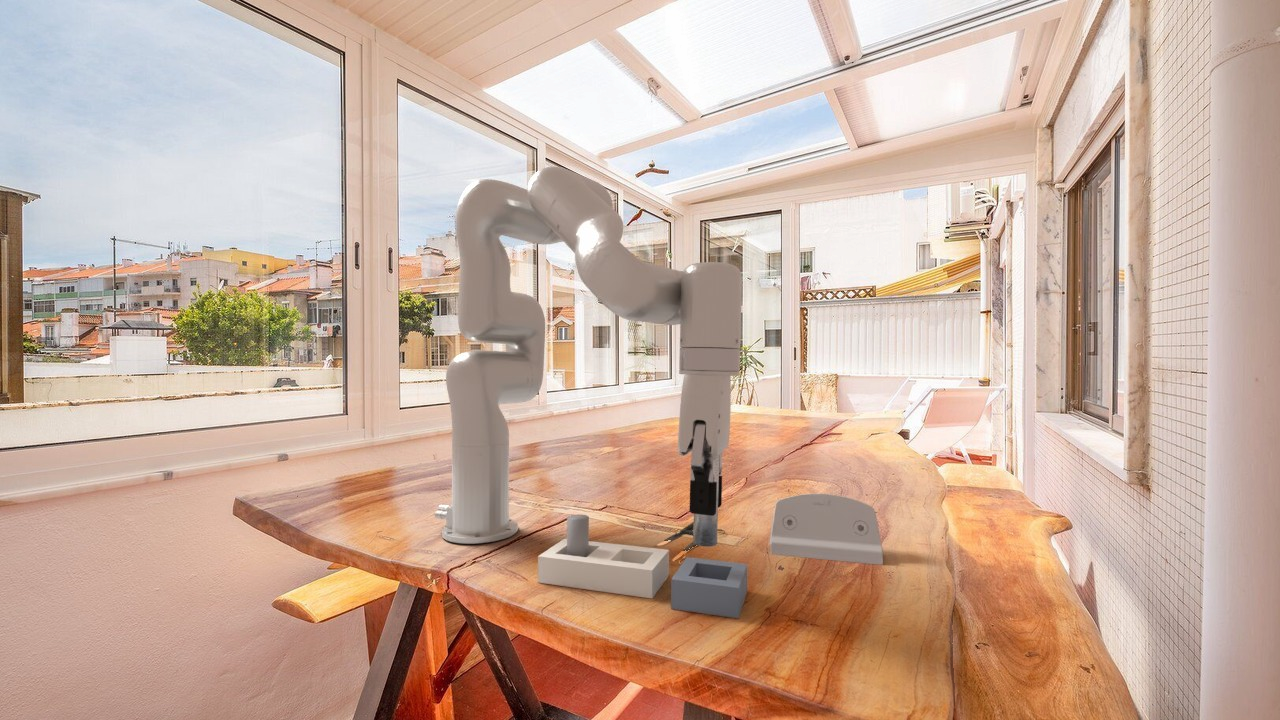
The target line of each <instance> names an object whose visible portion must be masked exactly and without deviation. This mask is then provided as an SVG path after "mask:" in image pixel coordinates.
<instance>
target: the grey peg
mask: <svg viewBox="0 0 1280 720" xmlns="http://www.w3.org/2000/svg"><path fill="white" fill-rule="evenodd" d="M710 449H711V446H710ZM704 455H705V456H711V454H709V452H707V451H705V452H704ZM705 463H708V465H709V462H708V461H705ZM719 476H720V475H719V455H718V456H717V457H715V478H714V482H717V499H716V514H715V515H714V516H710V515H701V514H693V521H694V522H693V521H692V523H693V535H692V536H693V537H692V542H693V543H694V544H696V545H698V546H699V547H708V548H709V547H715V546H717V544H718V531H717V529H718V524H719V523H718V518H719V508H718V486H719Z"/></svg>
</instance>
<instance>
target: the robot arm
mask: <svg viewBox="0 0 1280 720" xmlns="http://www.w3.org/2000/svg"><path fill="white" fill-rule="evenodd" d="M457 203H458V204H457V207H456V212H455V232H456V233H455V234H456V239H457V240H456V241H457V246H458V247H457V248H458V253H459V275H458V276H459V277H458V278H459V279H458V305H457V322H458V324H457V325H458V329H459V331H460V334H461V335H462V336H463V337H464V338H465V339H466V340H468V341H472V342H476V343H483V344H501V345H505V351H500V350H469V351H465V352H462V353H459V354H458V355H455V357H454V358H452V359H451V361H450V362H449V364H448V366H447V368H446V372H445V384H446V385H445V386H446V391H447V394H448V400H449V405H450V406H449V407H450V415H451V451H452V452H451V505H447V504H440V505H439V506H438V508H437V510H436V511H435V513H434V518H435V519H438V520H439V519H440V520H446V522H445V523H446V524H445V526H444V527H443V528H442V530H441V537H442V538H443V539H445V541H447V542H451V543H454V544H465V545H466V544H467V545H470V544H473V545H474V544H485V543H493V542H497V541H498V542H499V541H501V540H502V541H503V540H505V539H507V538H510V537H512V536H514V535H515V534H516V533H517V532H518V530H519V523H518V522H517V521H516V520H514V519H512V518H510V517H509V516H510V513H509V512H510V511H509V509H510V508H509V507H510V501H509V500H510V495H509V493H510V489H509V488H510V432H509V430H510V429H509V425H508V422H507V420H506V418H505V415H504V414H503V412H502V409H501V408H500V405H507V404H511V405H512V404H518V403H520V404H521V403H522V404H523V403H527V402H529V401H531V400H534V399H535V398H536V397H537V395H538V394H539V392H540V391H541V388H542V384H543V379H544V371H545V369H544V366H545V349H546V348H545V343H546V342H545V341H546V318H545V313H544V310H543V307H542V306H541V304H540V303H539V301H537V299H536V298H535V297H534V296H531V295H529V294H527V293H521V292H515V291H512V290H511V289H512V288H511V272H512V271H511V270H512V269H511V262H510V257H509V256H508V253H507V250H506V248H505V246H504V245H503V243H502V242H501V240H500V239H501V238H500V237H501V236H504V237H508V238H511V239H515V240H516V239H517V240H519V241H523V242H524V241H525V242H528V243H531V244H537V245H552V244H558V243H562V242H564V243H565V245H566V246H567V247H568V248H569V249H570V250H571V252H573V253H574V261H575V265H576V270H577V274H578V277H579V278H580V280H581V282H582V283H583V284H584V285H585V287H586V288H587V289H588V290H589V291H590V292H591V293H592V295H594V296H595V297H596V298H597V300H599V301H600V303H602V305H603V306H605V307H606V308H607V309H608V310H609V311H610V312H612V313H613V314H615V315H616V316H618V317H620V318H621V319H623V320H624V319H625V320H627V321H632V322H640V323H641V322H642V323H650V324H655V325H665V326H679V360H678V361H679V363H678V366H679V367H678V374H680V375H683V379H682V387H681V395H680V396H681V397H680V407H679V421H678V433H677V434H678V436H677V452H678V454H679V455H680V456H686V455H687V454H689V453H691V459H690V477H689V478H690V480H689V512H690V513H691V514H693V515H694V514H701V515H710V516H714V515H715V514H716V499H717V482H714V478H715V457H717V456H718V455H719V486H718V509H719V508H721V506H722V501H723V499H722V495H723V475H722V469H723V467H722V465H723V462H722V460H723V455H722V454H723V452H725V450H726V449H727V448H728V447H729V444H730V432H731V411H732V409H731V405H732V404H731V402H732V401H731V400H732V399H731V398H732V395H731V394H732V393H731V391H732V388H731V385H732V382H731V381H732V380H731V379H732V378H731V377H734V376H735V377H736V376H740V375H741V374H740V373H741V372H740V369H741V366H740V365H741V364H740V363H741V336H742V335H741V332H742V331H741V330H742V329H741V328H742V325H741V324H742V296H743V295H742V291H743V290H742V289H743V288H742V287H743V278H742V277H743V275H742V273H741V270H740V269H739V267H737V266H736V265H735V264H731V263H728V262H719V261H718V262H716V261H706V262H695V263H691V264H689V265H688V266H686V267H685V268H684V270H683V271H682V270H677V269H673V268H670V267H669V268H668V267H666V266H662V265H659V264H658V265H657V264H654V263H651V262H646V261H643V260H641V259H640V258H638V257H637V256H635V255H634V254H633V253H632V252H631V251H630V250H629V249H628V248H627V247H626V246H625V245H624V244H623V243H622V242H621V240H622V238H623V235H624V222H623V219H622V217H621V215H620V214H619V212H617V211H616V210H615V209H614V207H613V206H614V205H613V200H612V197H611V194H610V193H609V191H608V190H607V188H606V187H604V185H602V184H601V183H600V182H598V181H596V180H594V179H591V178H589V177H586V176H583V175H581V174H580V173H577V172H575V171H573V170H570V169H567V168H564V167H562V166H561V167H559V166H548V167H544V168H541V169H540V170H537V172H535V173H533V175H532V176H531V178H530V180H529V182H528V185H527V189H526V188H524V187H522V186H518V185H515V184H513V183H509V182H506V181H503V180H498V179H491V178H490V179H489V178H486V179H485V178H484V179H478V180H476V181H474V182H471V184H469V185H468V186H467V187H466V188H465V189H464V191H463V192H462V194H461V196H460V198H459V200H458V202H457ZM710 446H711V449H710ZM705 451H707V452H709V454H711V456H705V455H704V452H705ZM705 461H708V462H709V465H708V463H705Z"/></svg>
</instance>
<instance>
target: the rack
mask: <svg viewBox="0 0 1280 720" xmlns="http://www.w3.org/2000/svg"><path fill="white" fill-rule="evenodd" d="M589 519H590V517H589V515H587V514H572V515H568V516H567V517H566V538H563V539H561V540H560V541H559V542H557V543H556V544H554V545H552V546H551V547H549V548H548V549H547V550H545V551H544V552H542V553H541V554H539V555H538V556H537V583H539V584H545V585H547V584H548V585H554V586H561V587H566V588H567V587H568V588H575V589H582V590H589V591H597V592H604V593H611V594H616V595H617V594H618V595H624V596H625V595H626V596H630V597H631V596H632V597H638V598H645V599H653V598H654V597H655V595H656V594H657V593H658V591H659V590H660V588H661V587H662V586H663V584H664V583H665V581H666V580H667V579H668V577H669V576H670V550H669V549H664V548H655V547H647V546H639V545H638V546H636V545H628V544H619V543H609V542H599V541H593V540H592V541H591V540H590V538H589V537H590V531H589V530H590V526H589V525H590V520H589Z"/></svg>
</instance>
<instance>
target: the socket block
mask: <svg viewBox="0 0 1280 720" xmlns="http://www.w3.org/2000/svg"><path fill="white" fill-rule="evenodd" d="M683 560H684V561H683V562H682V563H681V564H682V565H681V564H680V566H679V568H678V569H677V570H676V572H675V573H674V575H673V576H672V578H671V579H670V585H671V586H670V588H671V589H670V590H671V591H670V592H671V593H670V594H671V595H670V596H671V597H670V598H671V599H670V604H671V606H670V607H671V610H677V611H683V612H684V611H685V612H692V613H699V614H706V615H713V616H719V617H725V618H733V619H739V618H740V616H741V612H742V610H743V606H744V603H745V600H746V597H747V594H748V563H741V562H736V561H735V562H734V561H723V560H715V559H705V558H698V557H697V558H696V557H690V556H686V558H684V559H683Z"/></svg>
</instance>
